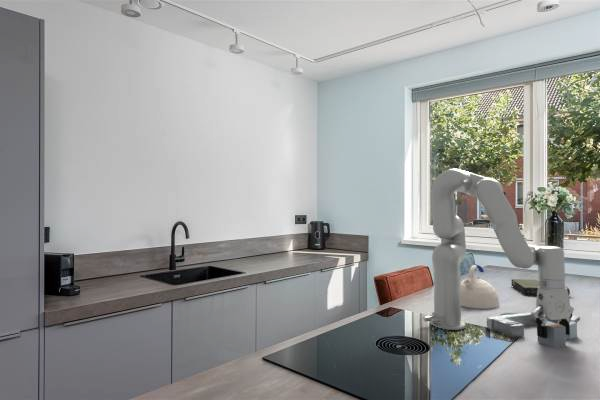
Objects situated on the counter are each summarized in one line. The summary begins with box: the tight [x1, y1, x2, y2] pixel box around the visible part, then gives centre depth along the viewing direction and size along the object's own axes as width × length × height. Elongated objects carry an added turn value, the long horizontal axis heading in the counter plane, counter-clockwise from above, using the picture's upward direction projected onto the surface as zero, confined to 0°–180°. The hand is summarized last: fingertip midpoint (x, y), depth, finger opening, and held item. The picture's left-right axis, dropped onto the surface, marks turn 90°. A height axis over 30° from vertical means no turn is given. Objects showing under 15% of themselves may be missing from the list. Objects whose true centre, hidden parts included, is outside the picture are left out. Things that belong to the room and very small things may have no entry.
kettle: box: [460, 264, 500, 310], centre depth 182 cm, size 20×21×18 cm
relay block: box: [557, 321, 578, 340], centre depth 136 cm, size 5×4×5 cm
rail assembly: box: [486, 311, 571, 339], centre depth 144 cm, size 28×11×4 cm, turn 107°
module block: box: [537, 321, 567, 349], centre depth 129 cm, size 5×6×7 cm
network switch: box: [511, 278, 571, 296], centre depth 204 cm, size 23×23×5 cm
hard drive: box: [571, 314, 581, 322], centre depth 159 cm, size 2×8×12 cm
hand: (553, 335), depth 129 cm, fingers open, 9 cm apart
